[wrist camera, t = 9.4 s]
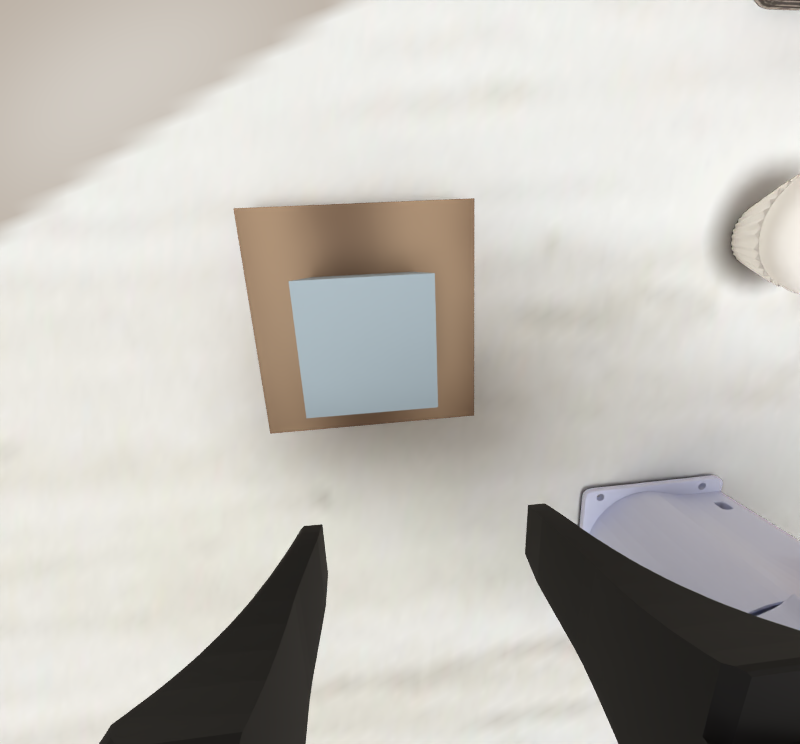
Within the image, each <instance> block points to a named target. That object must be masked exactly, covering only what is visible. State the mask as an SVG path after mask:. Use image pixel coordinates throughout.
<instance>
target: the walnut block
mask: <svg viewBox="0 0 800 744" xmlns="http://www.w3.org/2000/svg"><path fill="white" fill-rule="evenodd" d="M234 214H235V220H236V227H237V233H238V239H239V245H240V251H241V257H242V263H243V269H244V275H245V281H246V287H247V294H248V300H249V306H250V312H251V318H252V324H253V330H254V336H255V342H256V348H257V354H258V361H259V367H260V373H261V379H262V385H263V391H264V397H265V403H266V409H267V415H268V421H269V428H270V433H282V432H293V431H304V430H315V429H327V428H338V427H349V426H360V425H371V424H383V423H394V422H405V421H416V420H428V419H439V418H450V417H461V416H472V415H474V198H473V199H449V200H425V201H402V202H378V203H354V204H330V205H306V206H282V207H258V208H234ZM399 272H425V273H435V304H436V345H437V386H438V407H435V408H423V409H411V410H399V411H388V412H376V413H364V414H352V415H340V416H328V417H316V418H306V411H305V403H304V396H303V388H302V380H301V373H300V365H299V357H298V350H297V342H296V334H295V327H294V319H293V311H292V304H291V296H290V288H289V281H293V280H298V279H304V278H310V277H326V276H344V275H363V274H381V273H399Z"/></svg>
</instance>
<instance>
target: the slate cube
mask: <svg viewBox="0 0 800 744" xmlns="http://www.w3.org/2000/svg"><path fill="white" fill-rule="evenodd" d="M289 288H290V296H291V304H292V311H293V319H294V327H295V334H296V342H297V350H298V357H299V365H300V373H301V380H302V388H303V396H304V403H305V411H306V418H316V417H328V416H340V415H352V414H364V413H376V412H388V411H399V410H411V409H423V408H435V407H438V386H437V345H436V304H435V273H425V272H399V273H381V274H363V275H344V276H326V277H310V278H304V279H298V280H293V281H289Z"/></svg>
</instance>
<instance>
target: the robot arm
mask: <svg viewBox="0 0 800 744" xmlns="http://www.w3.org/2000/svg"><path fill="white" fill-rule="evenodd" d="M722 485H723V481H722V479H721V478H719V477H717V476H716V475H710V476H701V477H691V478H682V479H673V480H663V481H654V482H645V483H636V484H626V485H617V486H608V487H598V488H590V489H587V490H586V491H585V492H584V493H583V496H582V505H581V516H580V526H577V525H576V524H574V523H573V522H572V521H570V520H569V519H567V518H566V517H564V516H563V515H561V514H560V513H559V512H557V511H556V510H554V509H553V508H551V507H549V506H548V505H546V504H535V505H528V516H527V532H526V548H525V554H526V557H527V559H528V562H529V564H530V567H531V569H532V571H533V574H534V576H535V578H536V581H537V583H538V585H539V586H540V588H541V590H542V592H543V594H544V595H545V597H546V599H547V601H548V603H549V604H550V606H551V608H552V610H553V611H554V613H555V615H556V617H557V618H558V620H559V622H560V624H561V625H562V627H563V629H564V631H565V632H566V634H567V636H568V638H569V639H570V641H571V643H572V645H573V646H574V648H575V650H576V652H577V654H578V656H579V658H580V660H581V662H582V663H583V665H584V668H585V670H586V672H587V674H588V676H589V678H590V681H591V683H592V685H593V687H594V689H595V691H596V694H597V696H598V698H599V700H600V702H601V705H602V707H603V709H604V712H605V714H606V716H607V718H608V721H609V723H610V725H611V728H612V730H613V732H614V734H615V737H616V739H617V741H618V744H800V541H799V540H798V539H796V538H794V537H793V536H791V535H790V534H788V533H786V532H785V531H783V530H782V529H780V528H778V527H777V526H775V525H774V524H772V523H770V522H769V521H767V520H765V519H764V518H762V517H761V516H759V515H757V514H756V513H754V512H753V511H751V510H749V509H748V508H746V507H745V506H743V505H741V504H740V503H738V502H737V501H735V500H733V499H732V498H730V497H729V496H727V495H725V494H724V493H722V492H721V489H722ZM599 494H600V496H599V497H597V496H598V495H599ZM327 580H328V570H327V562H326V553H325V544H324V535H323V527H322V525H312V526H304V527H303V528H302V529H301V530H300V532H299V534H298V535H297V537H296V539H295V540H294V542H293V543H292V545H291V547H290V548H289V550H288V551H287V553H286V554H285V556H284V557H283V559H282V560H281V561H280V563H279V564H278V566H277V567H276V569H275V570H274V571H273V573H272V574H271V576H270V577H269V578H268V580H267V581H266V582H265V583H264V585H263V586H262V587H261V589H260V590H259V591H258V592H257V594H256V595H255V596H254V598H253V599H252V600H251V601H250V602H249V604H248V605H247V606H246V607H245V608H244V609H243V611H242V612H241V613H240V614H239V615H238V616H237V617H236V618H235V619H234V621H233V622H232V623H231V624H230V625H229V626H228V627H227V628H226V629H225V630H224V631H223V632H222V633H221V634H220V635H219V636H218V637H217V638H216V639H215V640H214V641H213V642H212V643H211V644H210V645H209V646H208V647H207V648H206V649H205V650H204V651H203V652H202V653H201V654H200V655H199V656H197V657H196V658H195V659H194V660H193V661H192V662H191V663H190V664H188V665H187V666H186V667H185V668H184V669H183V670H182V671H180V672H179V673H178V674H177V675H176V676H174V677H173V678H172V679H171V680H170V681H168V682H167V683H166V684H165V685H163V686H162V687H161V688H160V689H158V690H157V691H156V692H155V693H153V694H152V695H151V696H149V697H148V698H147V699H145V700H144V701H143V702H141V703H140V704H139V705H137V706H136V707H135V708H133V709H132V710H131V711H129V712H128V713H127V714H125V715H124V716H123V717H121V718H120V719H119V720H117V721H116V722H114V723H113V724H112V725H111V726H110V728H109V729H108V731H107V732H106V734H105V736H104V737H103V739H102V740H101V742H100V743H99V744H305V743H306V732H307V722H308V711H309V701H310V693H311V686H312V680H313V674H314V669H315V663H316V658H317V652H318V646H319V641H320V635H321V630H322V624H323V618H324V613H325V607H326V595H327Z"/></svg>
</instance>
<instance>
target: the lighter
mask: <svg viewBox="0 0 800 744" xmlns="http://www.w3.org/2000/svg"><path fill="white" fill-rule="evenodd" d="M755 2H756V3H757V4H758V5H759V6H760V7H763V8H766V9H783V10H800V0H755Z"/></svg>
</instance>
